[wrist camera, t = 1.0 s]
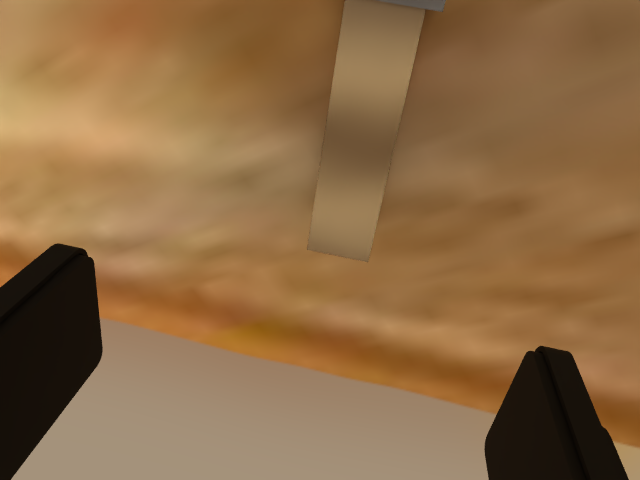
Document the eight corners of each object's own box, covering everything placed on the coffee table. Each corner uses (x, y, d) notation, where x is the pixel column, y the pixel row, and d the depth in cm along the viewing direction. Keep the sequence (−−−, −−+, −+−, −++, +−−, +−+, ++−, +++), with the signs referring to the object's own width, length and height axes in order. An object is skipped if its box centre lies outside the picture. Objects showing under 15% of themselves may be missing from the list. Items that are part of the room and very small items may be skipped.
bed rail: (383, 224, 30) (379, 273, 25) (310, 210, 30) (292, 255, 25) (440, -18, 23) (448, -12, 19) (346, -34, 23) (331, -32, 19)
